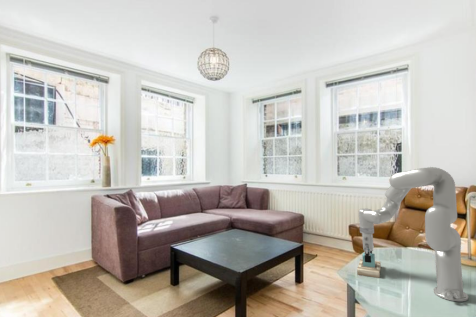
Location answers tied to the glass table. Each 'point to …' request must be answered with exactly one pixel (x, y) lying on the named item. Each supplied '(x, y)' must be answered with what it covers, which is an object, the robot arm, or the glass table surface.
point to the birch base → (369, 269)
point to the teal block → (368, 262)
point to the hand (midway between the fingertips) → (368, 259)
